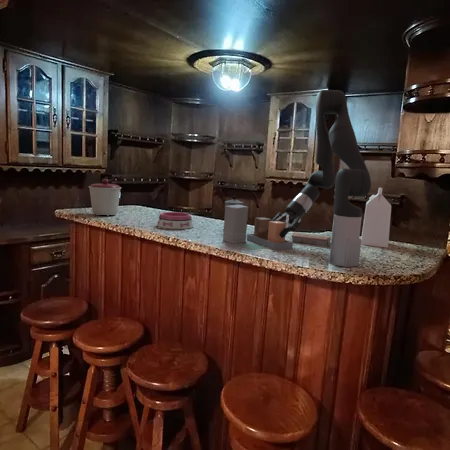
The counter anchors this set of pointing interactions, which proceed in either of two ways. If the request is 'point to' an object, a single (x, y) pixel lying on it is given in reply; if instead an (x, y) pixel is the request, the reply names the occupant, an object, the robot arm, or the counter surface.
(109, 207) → the canister
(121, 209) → the counter surface
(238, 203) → the coffeepot
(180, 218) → the dog bowl
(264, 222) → the walnut block
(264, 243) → the grey bin
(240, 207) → the skincare box
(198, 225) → the counter surface
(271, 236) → the terracotta carton
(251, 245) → the green mat
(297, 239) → the packaged product
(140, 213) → the counter surface
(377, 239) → the milk
